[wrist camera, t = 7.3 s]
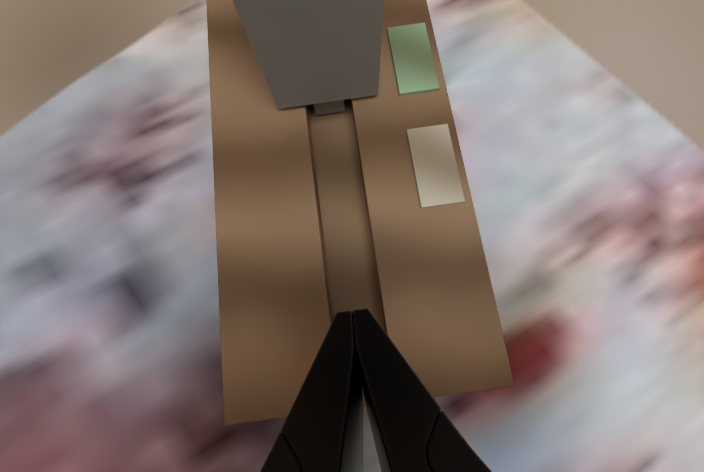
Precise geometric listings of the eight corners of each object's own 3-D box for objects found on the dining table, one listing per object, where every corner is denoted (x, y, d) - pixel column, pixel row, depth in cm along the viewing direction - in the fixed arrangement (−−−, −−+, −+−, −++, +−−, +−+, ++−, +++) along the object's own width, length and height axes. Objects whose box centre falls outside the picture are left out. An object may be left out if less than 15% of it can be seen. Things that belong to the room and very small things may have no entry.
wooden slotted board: (491, 374, 16) (516, 386, 13) (246, 407, 16) (222, 427, 13) (411, 6, 21) (418, -38, 18) (225, 33, 21) (204, -7, 18)
